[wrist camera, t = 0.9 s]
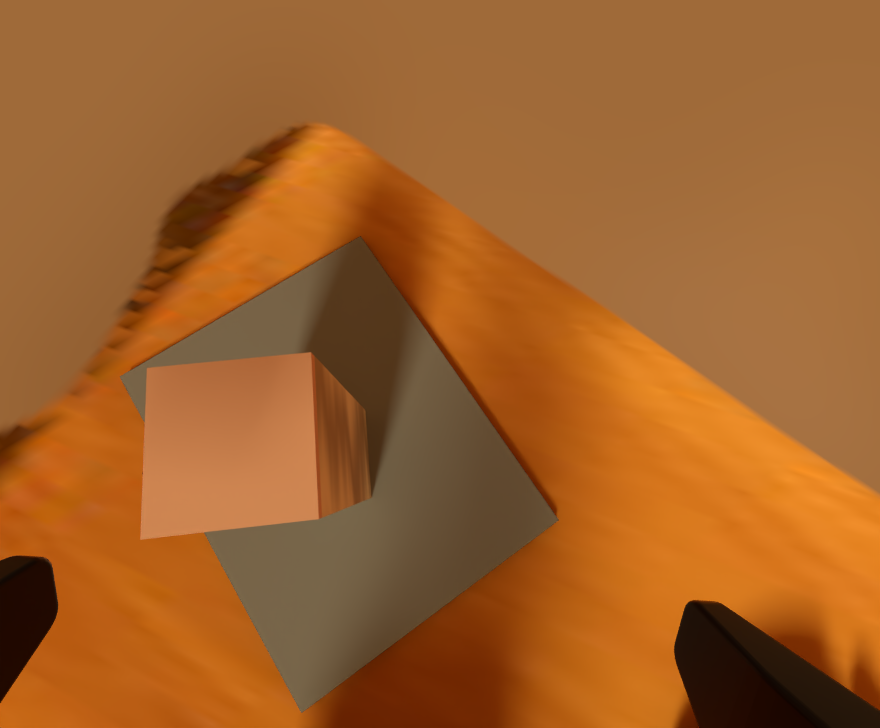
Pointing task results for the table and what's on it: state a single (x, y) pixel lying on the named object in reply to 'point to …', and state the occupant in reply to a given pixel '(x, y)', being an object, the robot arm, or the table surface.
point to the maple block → (249, 445)
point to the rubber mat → (391, 475)
